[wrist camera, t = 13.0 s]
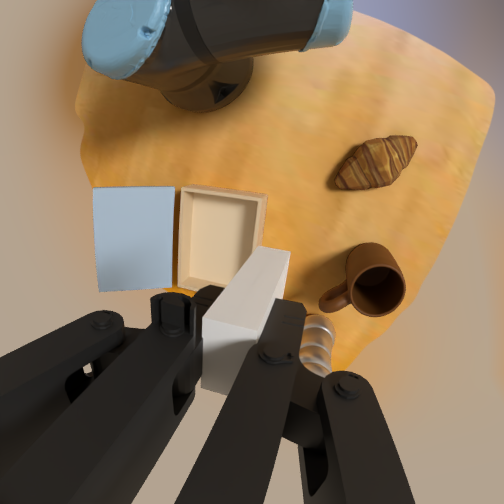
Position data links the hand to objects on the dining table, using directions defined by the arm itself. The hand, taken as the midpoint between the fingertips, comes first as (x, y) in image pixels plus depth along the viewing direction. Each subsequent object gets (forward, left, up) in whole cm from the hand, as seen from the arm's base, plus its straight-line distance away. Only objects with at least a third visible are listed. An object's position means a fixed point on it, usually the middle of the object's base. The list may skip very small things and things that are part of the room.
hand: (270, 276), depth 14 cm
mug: (+10, +9, -31) cm, 33 cm away
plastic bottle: (+21, +5, -31) cm, 37 cm away
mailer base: (+9, -12, -30) cm, 34 cm away
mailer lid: (+9, -23, -22) cm, 33 cm away
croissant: (-6, +9, -31) cm, 33 cm away
